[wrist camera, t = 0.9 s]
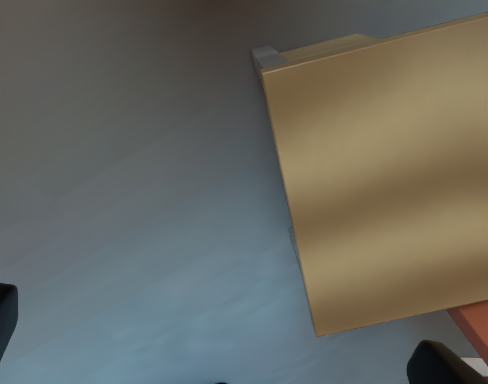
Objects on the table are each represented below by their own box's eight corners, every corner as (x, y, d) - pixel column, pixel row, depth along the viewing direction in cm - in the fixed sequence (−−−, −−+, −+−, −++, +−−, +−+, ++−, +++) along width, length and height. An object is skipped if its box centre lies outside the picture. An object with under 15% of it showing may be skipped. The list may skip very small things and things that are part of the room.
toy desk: (547, 184, 24) (676, 258, 17) (288, 244, 25) (316, 337, 18) (577, -40, 18) (784, -58, 12) (245, 45, 19) (261, 73, 12)
